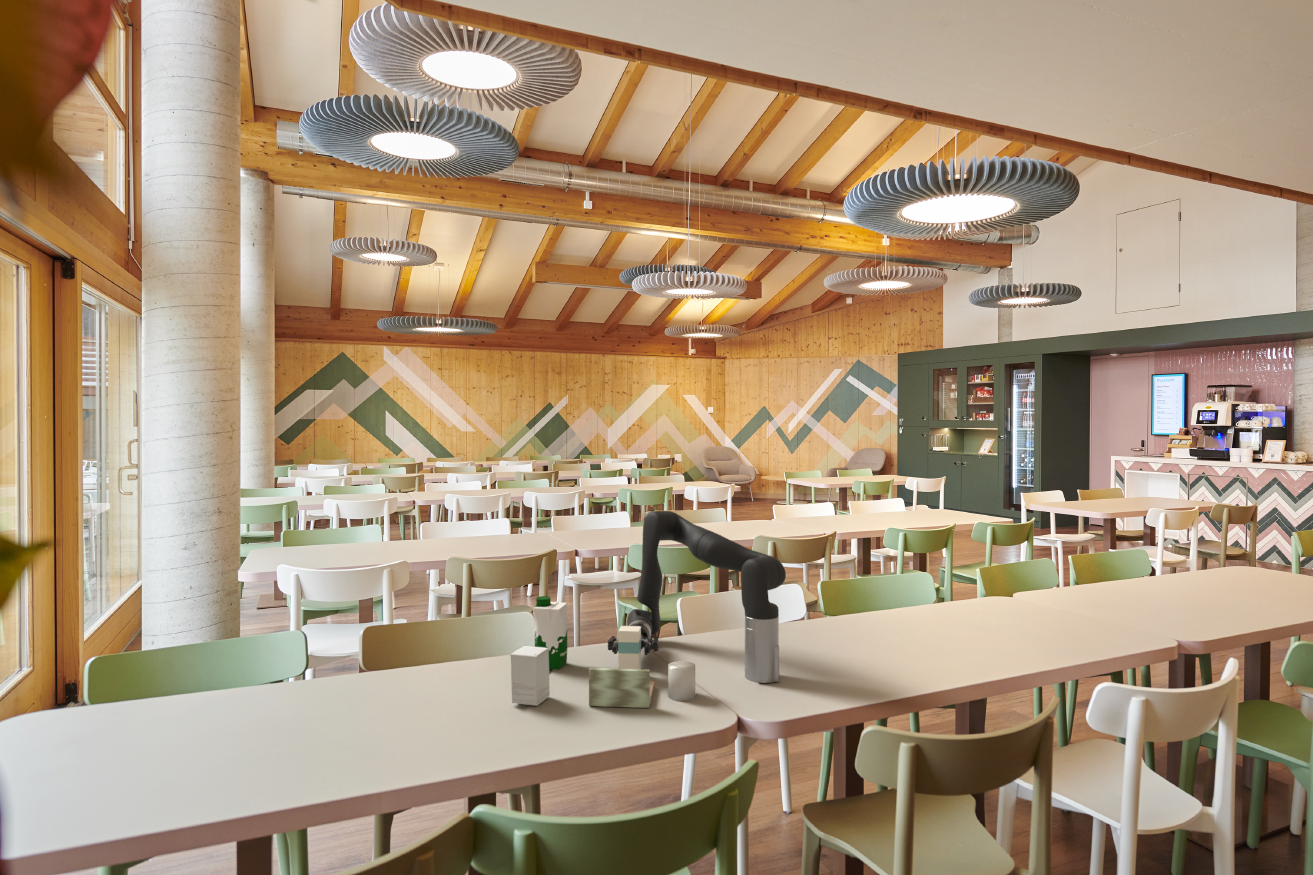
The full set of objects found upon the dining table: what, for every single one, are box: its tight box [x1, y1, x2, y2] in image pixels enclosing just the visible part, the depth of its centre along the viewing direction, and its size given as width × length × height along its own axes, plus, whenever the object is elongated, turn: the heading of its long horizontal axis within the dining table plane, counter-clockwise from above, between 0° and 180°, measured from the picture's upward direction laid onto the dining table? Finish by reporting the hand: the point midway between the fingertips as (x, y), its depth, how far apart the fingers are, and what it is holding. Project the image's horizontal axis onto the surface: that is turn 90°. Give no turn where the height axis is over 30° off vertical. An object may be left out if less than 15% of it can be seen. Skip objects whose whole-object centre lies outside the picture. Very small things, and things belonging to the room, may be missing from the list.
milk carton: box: [532, 595, 568, 672], centre depth 223 cm, size 9×9×20 cm
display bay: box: [588, 667, 656, 709], centre depth 198 cm, size 15×14×9 cm
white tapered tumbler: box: [667, 660, 696, 702], centre depth 199 cm, size 7×7×8 cm
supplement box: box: [510, 645, 551, 707], centre depth 196 cm, size 7×7×13 cm
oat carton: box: [617, 625, 642, 669], centre depth 212 cm, size 6×6×14 cm
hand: (630, 650), depth 213 cm, fingers open, 8 cm apart
